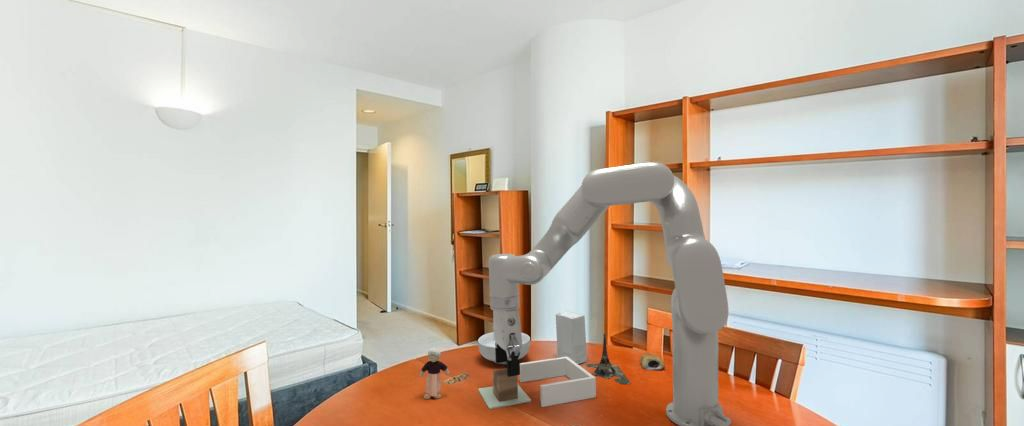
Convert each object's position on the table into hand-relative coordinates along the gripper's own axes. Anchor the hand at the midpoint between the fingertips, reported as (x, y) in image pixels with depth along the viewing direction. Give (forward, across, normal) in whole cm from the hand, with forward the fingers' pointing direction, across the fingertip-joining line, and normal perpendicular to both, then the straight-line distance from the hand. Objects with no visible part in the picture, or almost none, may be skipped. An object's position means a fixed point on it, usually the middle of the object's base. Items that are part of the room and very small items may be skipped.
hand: (507, 368), depth 103 cm
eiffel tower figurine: (+9, +4, -32) cm, 33 cm away
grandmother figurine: (+7, +8, +18) cm, 21 cm away
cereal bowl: (+8, +26, -7) cm, 28 cm away
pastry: (+9, +5, -48) cm, 49 cm away
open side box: (+8, 0, -13) cm, 15 cm away
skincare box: (+8, +18, -27) cm, 33 cm away
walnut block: (+7, 0, +1) cm, 7 cm away
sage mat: (+7, +2, +1) cm, 8 cm away
